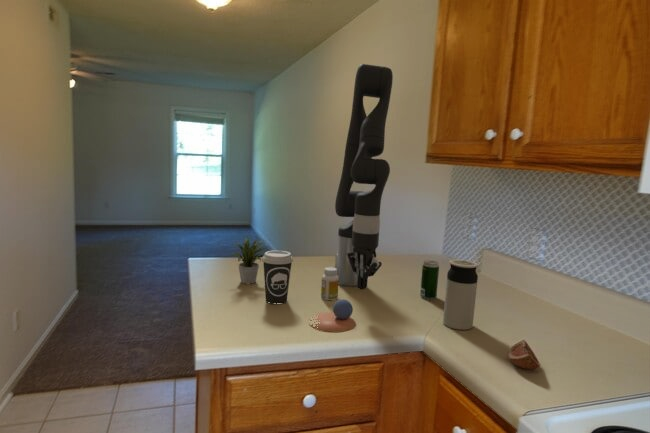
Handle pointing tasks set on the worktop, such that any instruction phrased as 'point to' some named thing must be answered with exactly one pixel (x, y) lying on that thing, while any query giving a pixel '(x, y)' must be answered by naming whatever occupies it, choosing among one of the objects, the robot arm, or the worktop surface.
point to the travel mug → (460, 294)
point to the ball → (342, 309)
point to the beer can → (429, 279)
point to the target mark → (333, 323)
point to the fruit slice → (523, 355)
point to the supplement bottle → (329, 284)
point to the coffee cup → (277, 275)
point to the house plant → (249, 261)
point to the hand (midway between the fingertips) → (361, 288)
